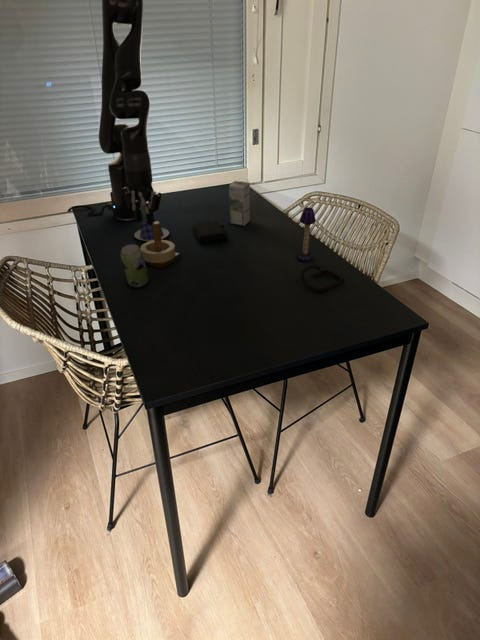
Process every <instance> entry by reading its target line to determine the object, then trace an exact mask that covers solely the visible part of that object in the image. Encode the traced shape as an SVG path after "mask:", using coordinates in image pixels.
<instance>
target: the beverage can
mask: <svg viewBox="0 0 480 640" xmlns="http://www.w3.org/2000/svg"><path fill="white" fill-rule="evenodd" d="M140 248H141V247H140V246H138V245H137V244H134V243H131V244H127V245H124V246H123V247H122V248H121V250H120V255H119V256H120V261H121V264H122V268H123V270H124V274H125V277H126V281H127V284H128V285H129V286H130V287H132V288H141V287H144V286H145V285H146V284H148V282H149V280H150V276H149V272H148V269H147V265H146V264H145V261H144V257H143V254H142V250H141V249H140Z"/></svg>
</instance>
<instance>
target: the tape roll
mask: <svg viewBox="0 0 480 640" xmlns="http://www.w3.org/2000/svg"><path fill="white" fill-rule="evenodd" d="M161 241H162V250H163V251H160V252H153V251H155V243H154V240H153V241H145V243H143V244H141V245H140V247H139V248H140V249H141V250H142V254H143V257H144V261H147V262H150V263H162V262H166V261H169V260H171V259H172V258H174V257H175V252H176V245H175V243H173V242H172V241H170V240H166V239H161Z"/></svg>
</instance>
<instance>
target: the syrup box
mask: <svg viewBox="0 0 480 640" xmlns="http://www.w3.org/2000/svg"><path fill="white" fill-rule="evenodd" d="M250 189H251V185H250V182H247V181H238V180H235V181H232V182H231V183H230V184H229V185H228V194H229V195H228V196H229V224H231V225H236V226H241V227H242V226H243V227H245V226H246V225H247V224H248V223H250V221H251V214H250V213H251V212H250V211H251V209H250V202H251V201H250V199H251V198H250V197H251V196H250V195H251V193H250V192H251V191H250Z"/></svg>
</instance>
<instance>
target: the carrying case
mask: <svg viewBox="0 0 480 640" xmlns="http://www.w3.org/2000/svg"><path fill="white" fill-rule="evenodd" d="M192 229H193V231H194V233H195V235H196V237H197V238H198V240H199V242H200V243H202V244H211V243H219V242H225V240H226V239H227V238H228V233H227V232H226V230H225V225H224V224H222V223H221V222H218V221H217V220H214V219H213V220H205V221H204V220H203V221H197V222H194V223H193V225H192Z"/></svg>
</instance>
